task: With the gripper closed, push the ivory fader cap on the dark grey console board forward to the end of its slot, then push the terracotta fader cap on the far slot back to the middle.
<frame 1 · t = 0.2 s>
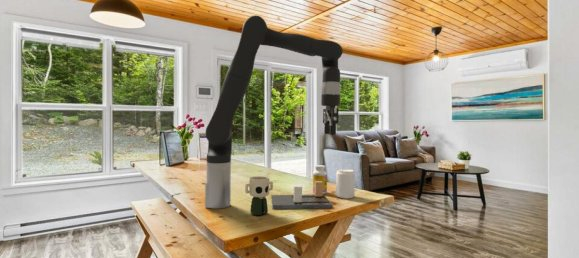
hand: (329, 134, 122), 28 cm above the table, fingers open, 8 cm apart
beverage can: (345, 197, 135), on the table
console board: (300, 203, 124), on the table
character mug: (259, 214, 109), on the table
ivory fader: (297, 193, 119), point 5 cm above the table, slide at 0.0 cm
terracotta fader: (318, 188, 129), point 5 cm above the table, slide at 10.0 cm
supplement bottle: (319, 193, 142), on the table
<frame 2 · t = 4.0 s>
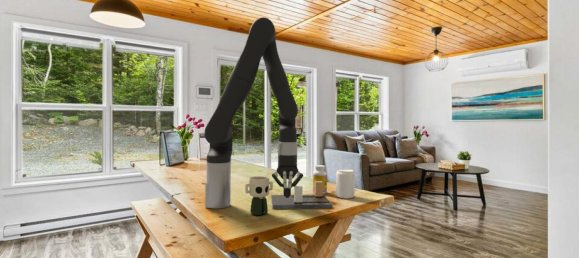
hand: (287, 197, 119), 4 cm above the table, fingers closed
ivory fader: (298, 193, 119), point 5 cm above the table, slide at 0.2 cm, touching gripper
everything else where it was.
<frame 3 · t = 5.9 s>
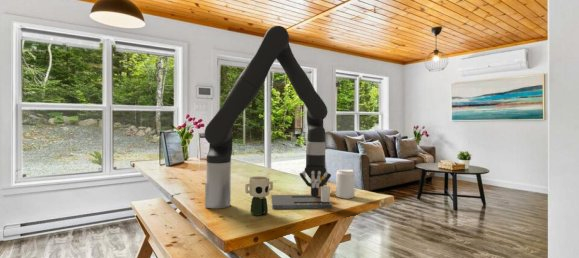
hand: (314, 196, 120), 4 cm above the table, fingers closed
ivory fader: (325, 193, 120), point 5 cm above the table, slide at 11.1 cm, touching gripper
everything else where it was.
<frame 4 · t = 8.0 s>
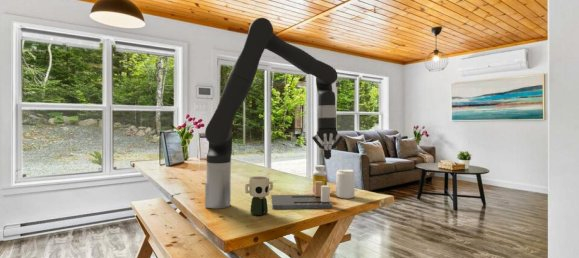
hand: (327, 158, 125), 18 cm above the table, fingers closed
ivory fader: (325, 193, 120), point 5 cm above the table, slide at 11.0 cm
everything else where it was.
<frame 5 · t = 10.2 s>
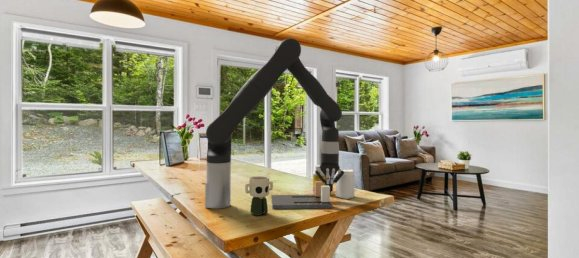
hand: (329, 192, 129), 3 cm above the table, fingers closed
terracotta fader: (318, 188, 129), point 5 cm above the table, slide at 10.0 cm, touching gripper
everything else where it was.
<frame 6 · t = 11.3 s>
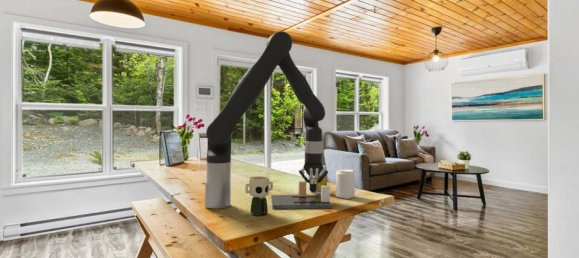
hand: (312, 192, 129), 3 cm above the table, fingers closed
terracotta fader: (302, 188, 128), point 5 cm above the table, slide at 3.0 cm, touching gripper
everything else where it was.
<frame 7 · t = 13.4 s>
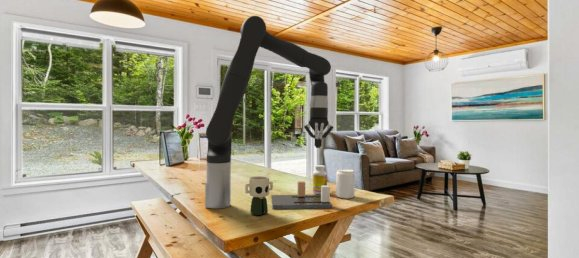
hand: (318, 147, 129), 22 cm above the table, fingers closed
terracotta fader: (301, 188, 128), point 5 cm above the table, slide at 2.6 cm
everything else where it was.
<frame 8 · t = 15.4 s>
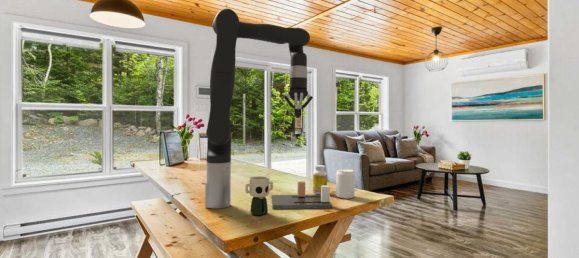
hand: (297, 117, 131), 35 cm above the table, fingers closed
nothing on the table moved.
at the end: ivory fader slide at 11.0 cm; terracotta fader slide at 2.6 cm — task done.
